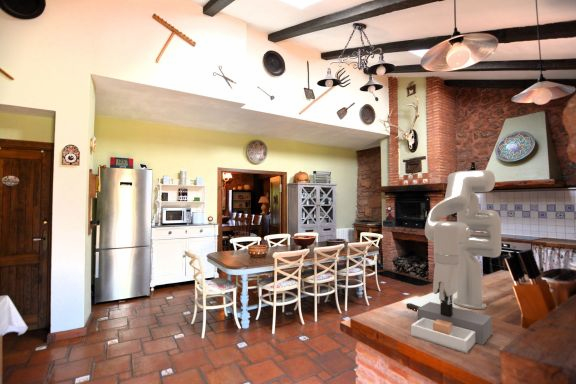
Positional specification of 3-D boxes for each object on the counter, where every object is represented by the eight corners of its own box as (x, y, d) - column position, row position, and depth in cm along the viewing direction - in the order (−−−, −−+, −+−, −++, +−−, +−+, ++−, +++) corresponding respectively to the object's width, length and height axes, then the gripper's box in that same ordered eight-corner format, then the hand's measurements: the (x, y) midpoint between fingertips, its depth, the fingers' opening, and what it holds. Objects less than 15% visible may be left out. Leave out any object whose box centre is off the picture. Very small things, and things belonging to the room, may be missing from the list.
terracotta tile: (437, 326, 97) (437, 319, 97) (452, 330, 94) (452, 322, 94) (432, 330, 94) (432, 322, 94) (448, 335, 91) (448, 326, 91)
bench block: (429, 317, 114) (429, 301, 114) (491, 334, 100) (491, 316, 100) (417, 325, 105) (417, 308, 106) (483, 345, 91) (483, 325, 92)
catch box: (422, 327, 104) (423, 317, 104) (475, 343, 93) (475, 331, 93) (411, 335, 97) (411, 324, 97) (466, 353, 85) (466, 341, 86)
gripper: (441, 256, 107) (441, 307, 106) (426, 260, 96) (426, 317, 95) (465, 258, 101) (465, 313, 100) (451, 263, 91) (451, 324, 90)
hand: (446, 315), depth 98 cm, fingers closed
